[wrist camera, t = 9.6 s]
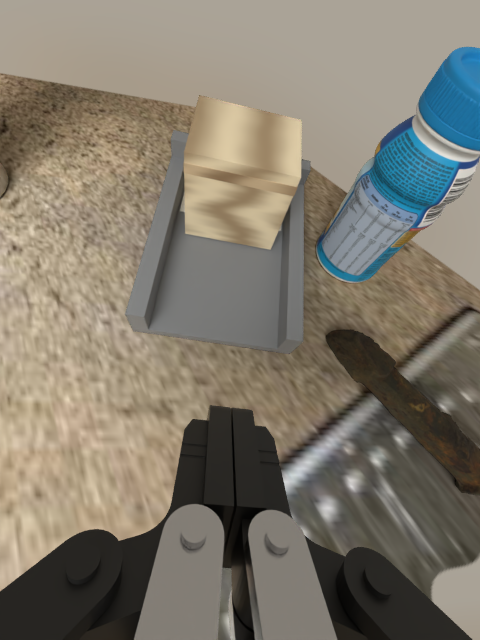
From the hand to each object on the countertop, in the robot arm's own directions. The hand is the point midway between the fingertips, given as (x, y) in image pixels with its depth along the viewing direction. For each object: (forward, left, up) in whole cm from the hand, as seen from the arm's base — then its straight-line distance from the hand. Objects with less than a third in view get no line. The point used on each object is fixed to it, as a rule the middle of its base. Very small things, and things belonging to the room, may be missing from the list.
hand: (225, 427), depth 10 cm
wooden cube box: (0, +25, -16) cm, 29 cm away
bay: (0, +20, -17) cm, 26 cm away
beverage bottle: (+15, +23, -17) cm, 32 cm away
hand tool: (+19, +5, -17) cm, 26 cm away
